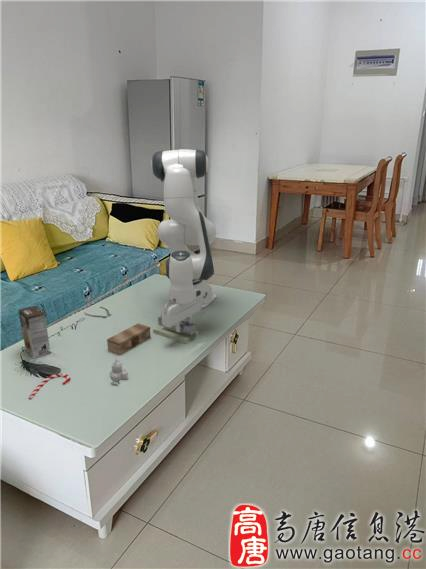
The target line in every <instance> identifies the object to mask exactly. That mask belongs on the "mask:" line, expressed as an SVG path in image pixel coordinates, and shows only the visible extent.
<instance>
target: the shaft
mask: <svg viewBox="0 0 426 569" xmlns="http://www.w3.org/2000/svg"><path fill="white" fill-rule="evenodd" d="M179 325H180V326H181V327H182V331H181V332H182V333H185V334H188V335H192V334H194V333H195V332H196V331H197V325H196V323H192V322H186V321H185V320H183V321H181V322H180V324H179ZM157 326H161V327H162V328H163V327H166V326H163V324H162V314H161V315H159V316H157ZM166 328H170V329H173V330H176V327H175V325H174V326H172V327H166Z"/></svg>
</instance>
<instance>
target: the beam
mask: <svg viewBox="0 0 426 569" xmlns="http://www.w3.org/2000/svg"><path fill="white" fill-rule="evenodd" d="M150 339H152V336H151V326H148V325H145V324H142V323H140V322H139V323H136V324H134V325H132V326H129V327H128V328H126V329H124V330H122V331H121V332H118V333H117V334H115V335H114V334H113V336H110V337H108V338H107V339H106V343H107V344H106V345H107V351H109V352H111V353H113V354H116V355H118V356H122V355H123V354H125V353H127V352H128V351H130V350H132V349H133V348H136V347H137V346H138V345H140V344H142V343H143V344H144V343H145V342H146V341H148V340H150Z"/></svg>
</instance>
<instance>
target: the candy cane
mask: <svg viewBox="0 0 426 569" xmlns="http://www.w3.org/2000/svg"><path fill="white" fill-rule="evenodd" d="M57 378H63V379H64V378H65V379H66V380H65V381H63V382H62V383H61V384H62V385H63V386H66V385H67V384H68V383H70V381H71V376H70V375H69V374H68V373H56V374H53V375H49V376H47V377H46V378H44V379H43V380H42V381H41V382H40V383H39V384H38V385H37V386H36V387H35V388H34V389H33V390H32V392H31V393H30V395H29V396H28V400H32V398H33V397H35V396H36V395H37V394H38V392H39V391H40V390H41V389H42V387H43V386H45V385H46V383H48V382H49V381H51V380H53V379H57ZM40 388H41V389H40ZM39 389H40V390H39ZM35 394H36V395H35ZM33 399H34V398H33Z"/></svg>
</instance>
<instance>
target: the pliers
mask: <svg viewBox="0 0 426 569" xmlns="http://www.w3.org/2000/svg"><path fill="white" fill-rule="evenodd" d="M99 308H100V309H104V310H105V311H106V315H107V316H106V315H94V314H89V313H87V312H85V311H84V312H83V314H84V315H86V316H89V317H93V318H103V319H106V318H109V317H111V316H112V314H111V313H110V312H109V310H108V308H106V307H103V306H99Z"/></svg>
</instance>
